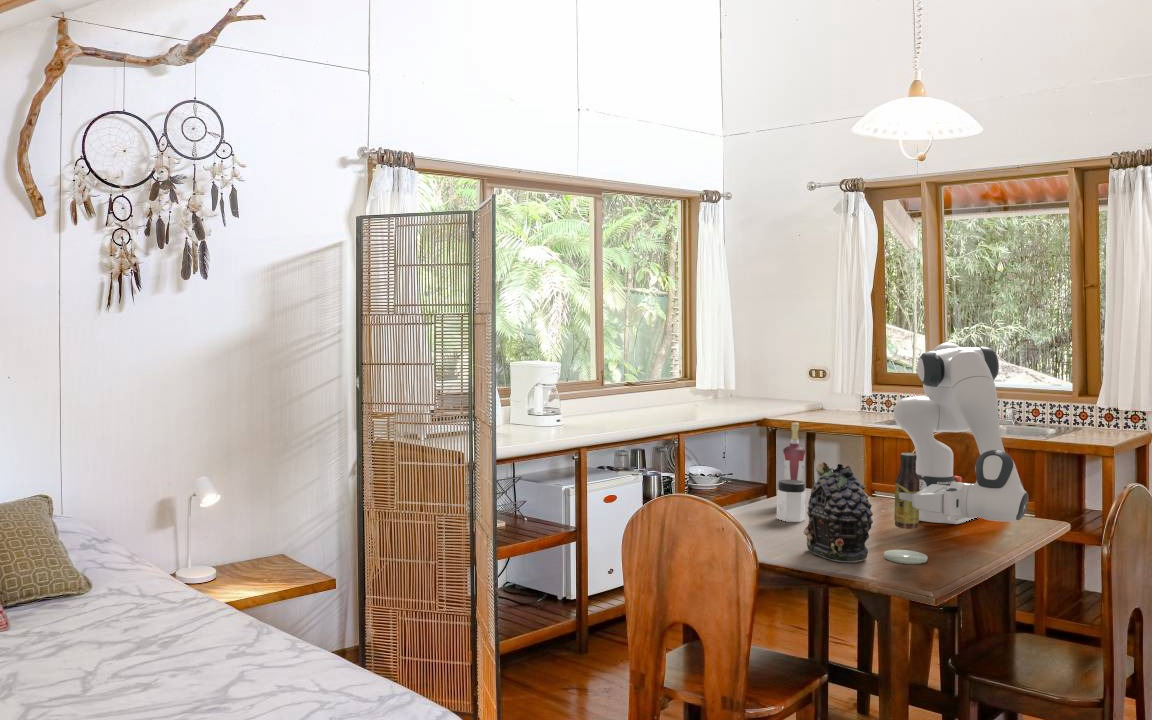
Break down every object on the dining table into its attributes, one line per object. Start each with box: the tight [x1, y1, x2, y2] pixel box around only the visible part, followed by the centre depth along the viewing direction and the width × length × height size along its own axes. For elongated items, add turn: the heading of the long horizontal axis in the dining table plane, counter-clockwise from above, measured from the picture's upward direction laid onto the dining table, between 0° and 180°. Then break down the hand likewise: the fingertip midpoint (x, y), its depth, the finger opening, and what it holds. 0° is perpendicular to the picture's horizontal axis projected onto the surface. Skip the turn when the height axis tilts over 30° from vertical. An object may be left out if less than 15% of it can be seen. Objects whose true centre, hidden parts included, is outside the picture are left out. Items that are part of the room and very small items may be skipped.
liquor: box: [782, 422, 806, 482], centre depth 323 cm, size 7×7×28 cm
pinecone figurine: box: [802, 461, 874, 563], centre depth 257 cm, size 21×15×25 cm
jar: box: [776, 479, 807, 523], centre depth 301 cm, size 9×8×12 cm
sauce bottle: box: [893, 452, 920, 530], centre depth 255 cm, size 7×6×20 cm
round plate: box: [883, 549, 928, 565], centre depth 256 cm, size 11×11×1 cm
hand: (903, 493), depth 256 cm, fingers closed on sauce bottle, 6 cm apart
